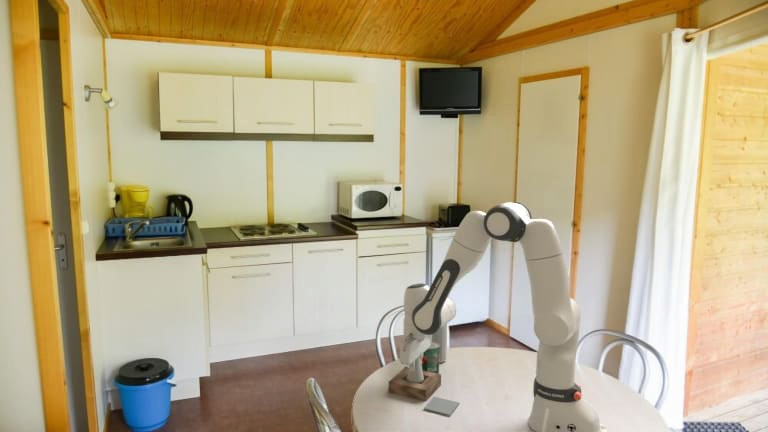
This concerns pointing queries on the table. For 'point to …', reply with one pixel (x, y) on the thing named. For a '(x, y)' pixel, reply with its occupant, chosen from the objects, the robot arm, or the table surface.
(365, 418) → the table surface
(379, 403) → the table surface
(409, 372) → the salt shaker
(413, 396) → the socket block
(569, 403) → the robot arm
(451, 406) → the coaster
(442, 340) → the water bottle
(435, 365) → the canned tomato
